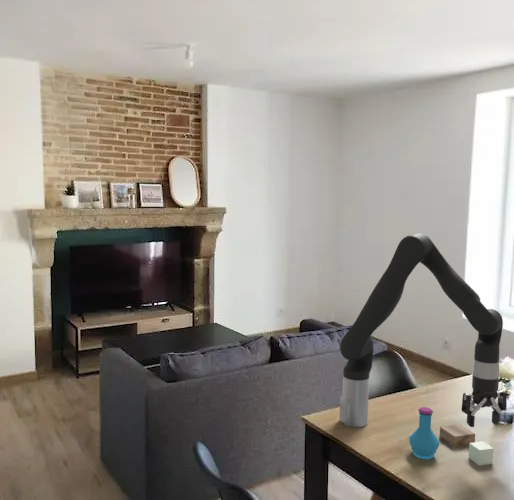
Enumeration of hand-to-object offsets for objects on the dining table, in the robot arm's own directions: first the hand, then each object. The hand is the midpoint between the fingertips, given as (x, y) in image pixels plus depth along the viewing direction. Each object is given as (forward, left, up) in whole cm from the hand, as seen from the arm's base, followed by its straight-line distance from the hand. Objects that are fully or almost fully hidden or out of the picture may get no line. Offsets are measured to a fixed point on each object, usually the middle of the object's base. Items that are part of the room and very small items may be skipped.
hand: (483, 424), depth 173 cm
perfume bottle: (-15, +8, -12) cm, 21 cm away
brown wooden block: (+1, +14, -12) cm, 19 cm away
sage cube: (0, 0, -12) cm, 12 cm away
